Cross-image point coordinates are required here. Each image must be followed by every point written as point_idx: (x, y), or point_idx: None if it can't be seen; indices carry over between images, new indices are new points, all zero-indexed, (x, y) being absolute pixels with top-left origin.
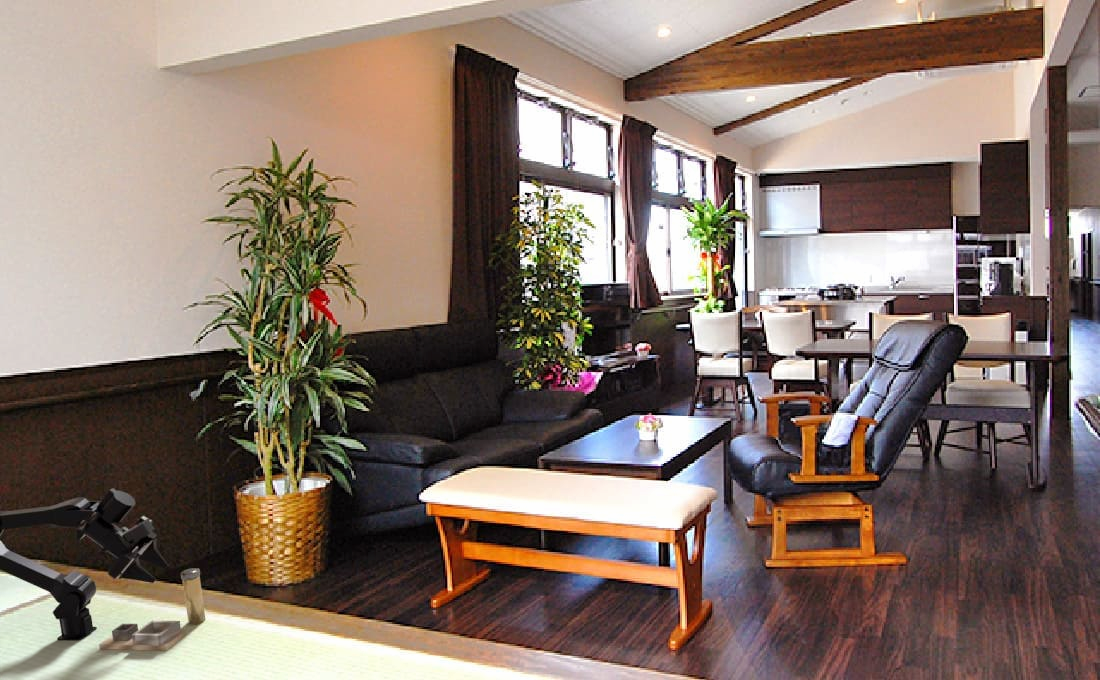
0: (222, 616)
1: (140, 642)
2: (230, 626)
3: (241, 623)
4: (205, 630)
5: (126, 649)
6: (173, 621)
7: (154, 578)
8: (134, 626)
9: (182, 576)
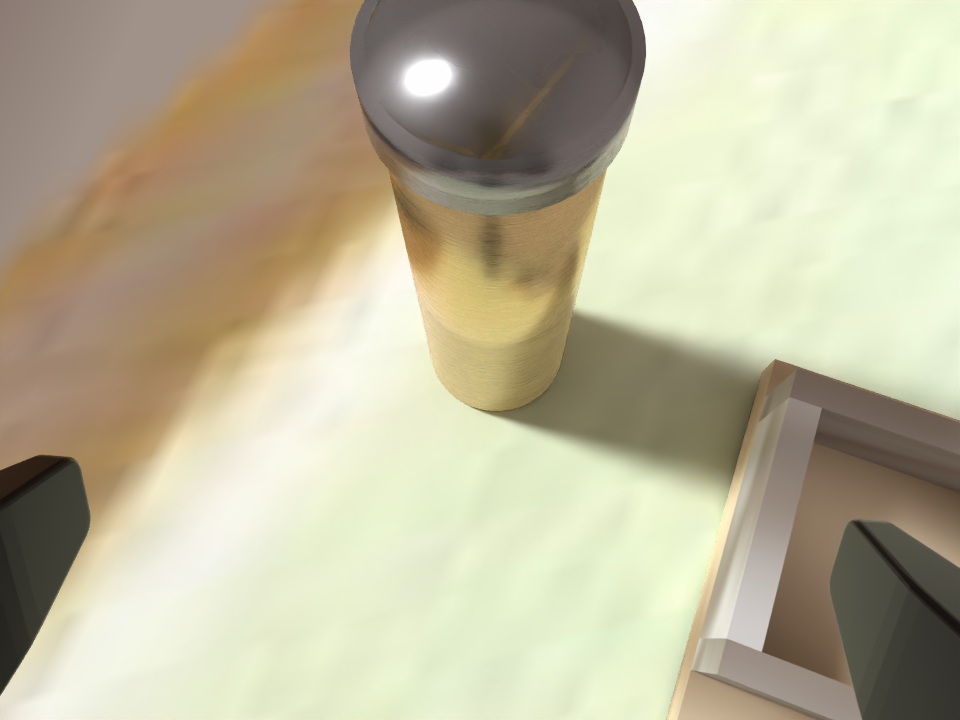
0: None
1: None
2: (662, 101)
3: None
4: (684, 254)
5: None
6: (797, 426)
7: (895, 531)
8: None
9: (605, 146)
